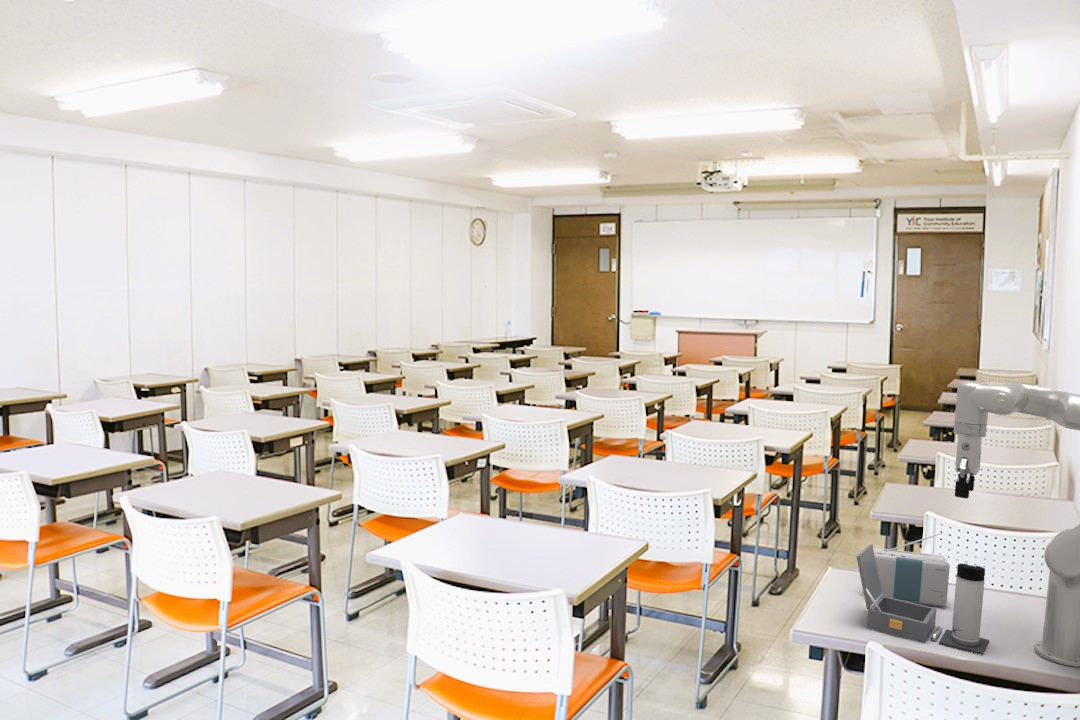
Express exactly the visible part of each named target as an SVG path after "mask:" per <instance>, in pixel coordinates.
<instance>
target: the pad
mask: <svg viewBox="0 0 1080 720" xmlns="http://www.w3.org/2000/svg"><path fill="white" fill-rule="evenodd" d="M951 635H952V629H951V630H950V629H948V628H946V629H945V631H944V633H943V635H942V637H941V638H939V639H940V640H939V642H938V645H939V646H943V645H944V647H948V648H952V649H955V648H956V650H958V651H962V652H967V651H968V652H967V653H971V652H973V653H972V654H974V653H977V654H976V655H978V654H981V655H980V656H982V655H983V654H984V655H985V653H986V650H987V648H988V645H989V643H990V639H988V638H983V637H981V636H980V637H979V644H978V645H977V646H965V645H961V644H958V643H956V642H954V641H953V640H952V638H951ZM984 652H985V653H984ZM984 655H983V656H984Z"/></svg>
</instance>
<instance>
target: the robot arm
mask: <svg viewBox="0 0 1080 720" xmlns="http://www.w3.org/2000/svg"><path fill="white" fill-rule="evenodd" d="M955 401H956V402H955V412H954V413H955V414H954V421H953V422H954V424H953V434H954V435H957V443H956V452H955V453H956V455H955V456H956V457H955V472H956V473H957V475H956V480H955V488H954V496H955V497H956V498H962V499H969V497H970V492H974V488H975V487H974V486H975V476H977V474H978V473H979V472H980V470H981V455H982V438H986V436H987V427H988V418H989V416H988V415H989V413H991V414H995V415H999V416H1009V415H1012V414H1014V413H1019V414H1025V415H1031V416H1034V417H1040V418H1043V419H1047V420H1050V421H1052V422H1054V423H1055V424H1057V425H1058V426H1060V427H1062V428H1065V429H1069V430H1074V431H1078V432H1080V394H1077V393H1072V392H1071V393H1070V392H1067V391H1061V390H1055V389H1051V388H1046V387H1040V386H1035V385H1030V384H1023V383H1018V382H1016V383H1015V382H1007V383H1004V384H1000V385H999V384H998V385H989V384H988V383H985V382H980V381H975V380H974V381H972V380H971V381H970V380H969V381H968V380H967V381H965V380H964V381H960V382H959V383H958V385H957V390H956V400H955ZM1044 562H1045V565H1046V567H1047V568H1048V570H1049V573H1048V580H1047V581H1048V582H1047V590H1046V601H1045V612H1044V621H1043V632H1042V640H1039V641H1037V642H1035V644H1034V646H1033V647H1034V651H1035V652H1036V653H1037V654H1038V655H1039V656H1040V657H1042V658H1043V659H1046V660H1048V661H1051V662H1053V663H1057V664H1061V665H1063V666H1069V667H1075V668H1076V667H1077V668H1080V523H1079V524H1077V525H1076V526H1074V527H1072V528H1069V529H1065V530H1064V529H1063V530H1062V531H1060V532H1059V533H1057V534H1056V535H1055V536H1054V537H1053V538H1052V540H1051V541H1050V542H1049V543H1048V544H1047V545H1046V547H1045V549H1044Z"/></svg>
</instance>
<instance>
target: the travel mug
mask: <svg viewBox="0 0 1080 720" xmlns="http://www.w3.org/2000/svg"><path fill="white" fill-rule="evenodd" d="M956 569H957V571H956V578H955V579H956V580H955V589H954V590H955V591H954V601H953V602H954V603H953V614H952V624H951V625H952V626H951V630H952V635H951V638H952V640H953V641H954V642H956V643H958V644H961V645H965V646H977V645H978V644H979V637H980V638H981V636H980V635H981V634H980V633H981V626H982V624H981V623H982V613H983V602H984V601H983V600H984V589H985V575H986V569H985V568H984V567H982V566H980V565H972V564H971V565H970V564H968V563H957V568H956Z"/></svg>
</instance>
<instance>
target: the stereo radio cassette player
mask: <svg viewBox="0 0 1080 720" xmlns="http://www.w3.org/2000/svg"><path fill="white" fill-rule="evenodd" d="M939 535H941V536H942V535H943V533H942V532H939V533H937V534H935V535H932V536H931V535H930V536H928V537H924V538H921V539H918V540H915V541H912V542H908V543H905V544H901V545H899V546H897V547H894V548H890V549H888V548H880V547H873V550H874V554H875V559H876V564H877V569H878V574H879V579H880V584H881V589H882V593H883V596H886V597H890V598H895V599H899V600H903V601H907V602H912V603H916V604H920V605H925V606H927V605H928V606H935V607H938V606H939V608H940V606H941V607H943V606H945V605H946V604H947V602H948V601H947V600H948V590H949V578H950V567H951V566H950V564H949V562H948V560H947V558H946V557H945V556H944V555H938V554H933V553H932V554H931V553H923V552H913V551H907V550H906V551H905V550H899V549H901V548H904V547H907V546H910V545H915V544H916V543H919V542H922V541H925V540H927V539H932V537H933V538H934V537H937V536H939Z"/></svg>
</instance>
